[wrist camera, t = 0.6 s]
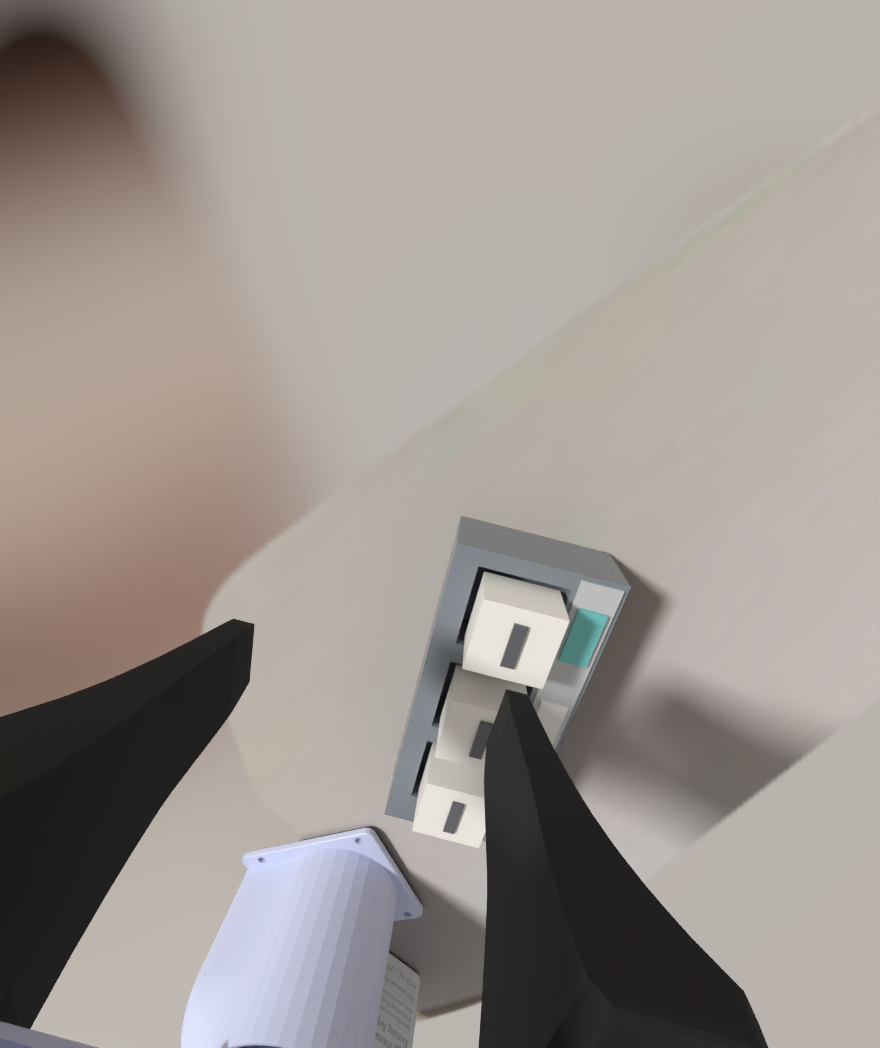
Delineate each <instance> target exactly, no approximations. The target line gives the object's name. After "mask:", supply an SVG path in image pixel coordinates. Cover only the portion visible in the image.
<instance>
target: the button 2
mask: <svg viewBox="0 0 880 1048" xmlns="http://www.w3.org/2000/svg"><path fill="white" fill-rule="evenodd" d="M569 622H570V620H569V617H568V614H567V611H566V608H565V605H564V602H563V598H562V595H561V592H560V591H559V590H555V589H551V588H547V587H543V586H539V585H535V584H531V583H527V582H523V581H519V580H515V579H512V578H508V577H504V576H500V575H496V574H492V573H488V572H484V573H483V576H482V580H481V583H480V586H479V590H478V593H477V596H476V600H475V603H474V606H473V610H472V613H471V616H470V620H469V623H468V626H467V630H466V633H465V640H464V652H463V664H462V669H465V670H469V671H472V672H476V673H480V674H484V675H488V676H492V677H496V678H500V679H504V680H507V681H511V682H515V683H519V684H523V685H527V686H531V687H535V688H539V689H543V687H544V684H545V682H546V679H547V677H548V674H549V672H550V669H551V667H552V664H553V662H554V659H555V657H556V654H557V652H558V649H559V647H560V644H561V642H562V639H563V637H564V634H565V632H566V629H567V627H568V624H569Z"/></svg>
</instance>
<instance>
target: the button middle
mask: <svg viewBox="0 0 880 1048" xmlns="http://www.w3.org/2000/svg"><path fill="white" fill-rule="evenodd" d="M506 689H508V690H512V691H516V692H519V693H523V694H527V689H526V685H523V684H519V683H515V682H511V681H507V680H504V679H500V678H496V677H492V676H488V675H484V674H480V673H476V672H472V671H469V670H465V669H462V666H461V665H457V664H456V667H455V670H454V673H453V677H452V680H451V683H450V687H449V690H448V693H447V697H446V700H445V703H444V707H443V710H442V713H441V717H440V723H439V731H438V738H437V746H436V753H435V757H436V758H440V759H444V760H448V761H451V762H455V763H459V764H463V765H467V766H471V767H474V768H478V769H482V770H484V769H485V756H486V743H487V740H488V738H489V735H490V732H491V729H492V727H493V724H494V721H495V718H496V715H497V713H498V710H499V707H500V704H501V702H502V699H503V696H504V693H505V691H506Z"/></svg>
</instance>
